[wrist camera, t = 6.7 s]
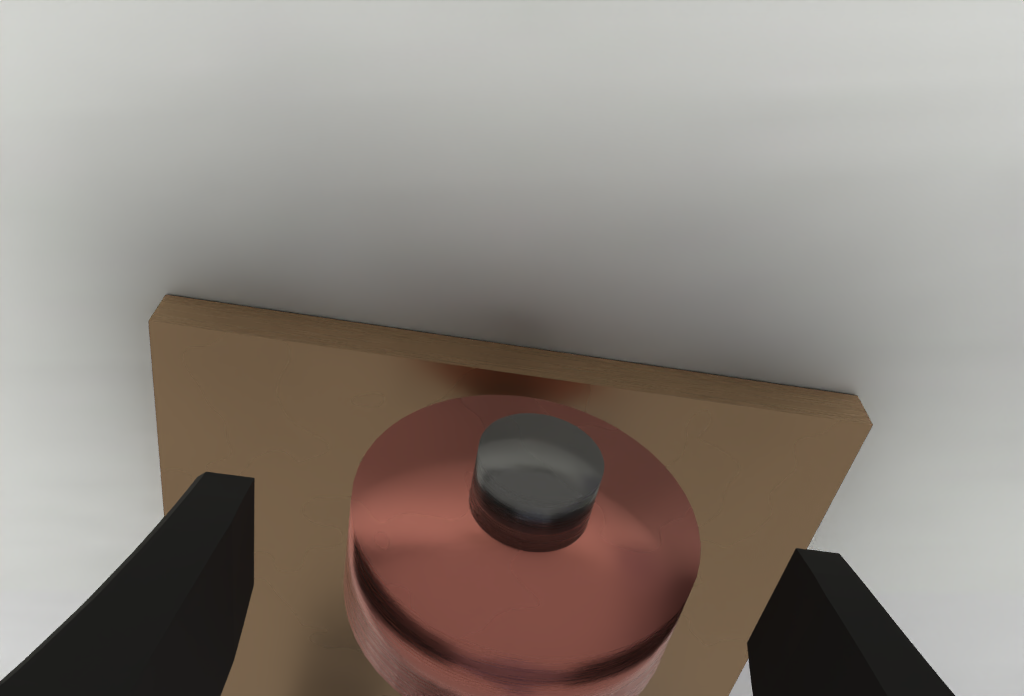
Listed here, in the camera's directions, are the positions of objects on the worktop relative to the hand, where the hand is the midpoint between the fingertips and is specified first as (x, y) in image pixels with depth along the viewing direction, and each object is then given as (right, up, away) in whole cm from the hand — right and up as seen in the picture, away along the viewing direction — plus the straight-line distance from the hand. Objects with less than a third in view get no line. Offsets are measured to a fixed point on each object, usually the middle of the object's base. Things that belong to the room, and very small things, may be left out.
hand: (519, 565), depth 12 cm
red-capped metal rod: (-1, -2, +5) cm, 5 cm away
